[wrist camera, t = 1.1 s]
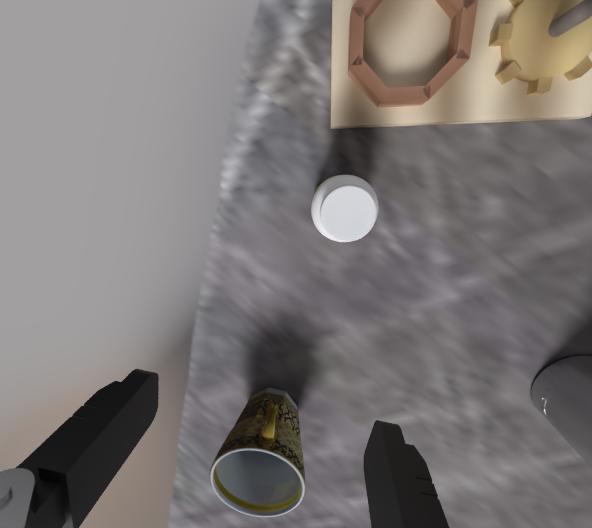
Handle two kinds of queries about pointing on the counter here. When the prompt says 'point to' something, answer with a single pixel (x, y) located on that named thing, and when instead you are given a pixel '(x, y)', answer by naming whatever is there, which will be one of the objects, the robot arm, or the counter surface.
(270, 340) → the counter surface
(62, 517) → the robot arm
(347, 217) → the supplement bottle
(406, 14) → the gear board
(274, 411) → the ceramic cup
